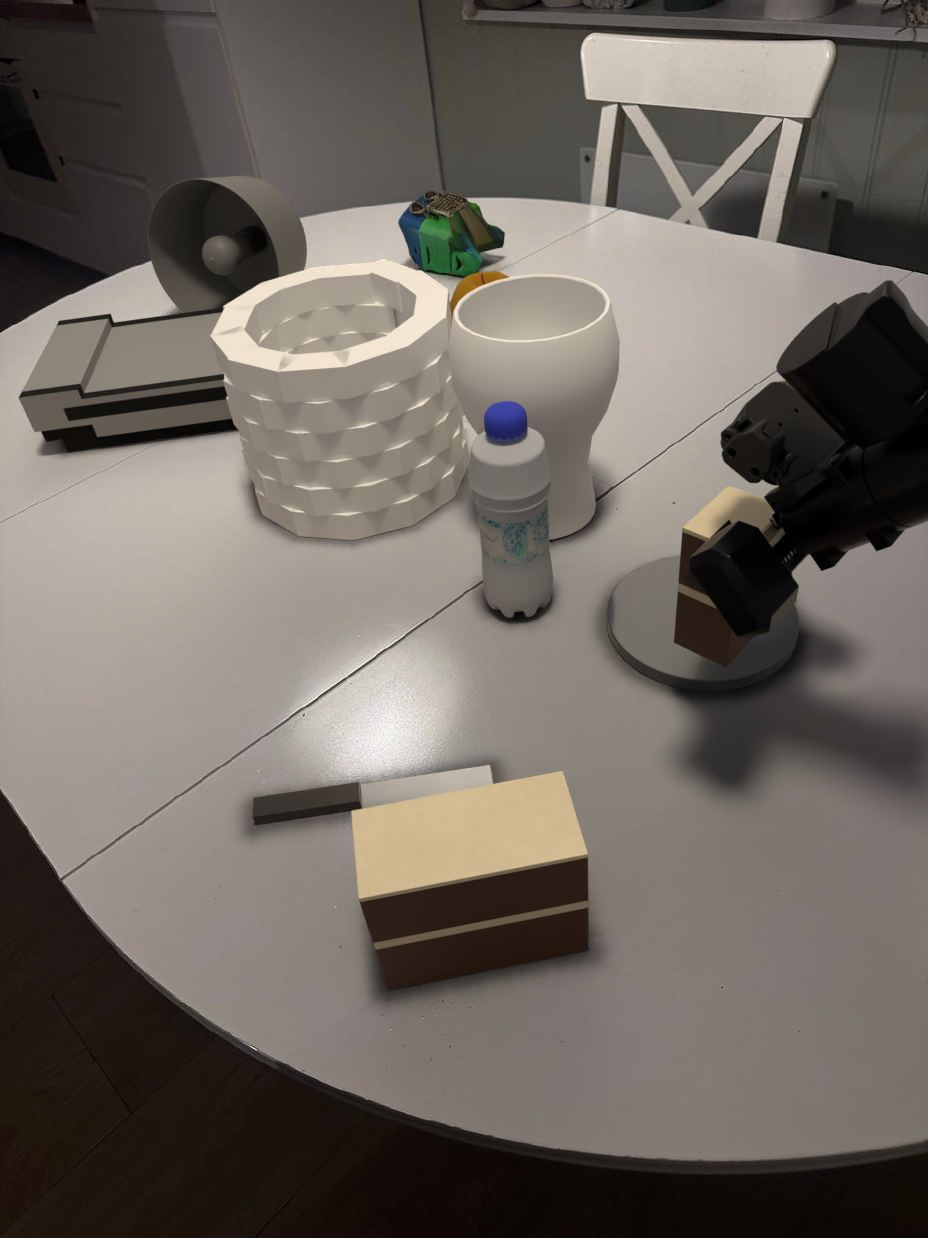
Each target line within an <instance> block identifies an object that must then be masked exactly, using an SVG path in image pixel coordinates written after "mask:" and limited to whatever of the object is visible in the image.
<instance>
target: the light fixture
mask: <svg viewBox="0 0 928 1238" xmlns="http://www.w3.org/2000/svg"><path fill="white" fill-rule="evenodd" d="M307 243H308V242H307V237H306V232H305V229H304V226H303V223H302V220H301V218H300V216H299V215H298V212H297V211H296V209H295V207H294V205H293V204H292V203H291V202H290V200H289V199H288V198H287V197H286V196H285V195H284V193H282V191H280V190H279V189H277V187H275V186H274V185H272V184H271V183H269V182H268V181H265V180H263V179H260V178H258V177H254V176H249V175H231V176H213V177H200V178H190V179H189V178H188V179H184V180H181V181H178V182H176V183H174V184H172V185H171V186H169V187H168V188H166V189H165V190H164V191H163V192H162V194H161V195H159V197H158V198H157V199H156V202H155V203H154V205H153V207H152V210H151V213H150V216H149V220H148V227H147V246H148V253H149V257H150V261H151V264H152V268H153V270H154V272H155V276H156V278H157V280H158V282H159V283H160V286H161V287H162V289H163V290H164V292H165V294H166V295H167V297H168V298H169V299H170V301H172V303H173V304H174V305H175V306H176V307H177V308H178V309H179V310H180V311H181V313H187V312H194V311H201V310H208V309H216V308H223V306H224V305H226V304H228V303H229V302H231V301H233V300H234V299H236V298H238V297H239V296H241V295H242V294H244V293H246V292H247V291H249V290H251V289H252V288H254V287H256V286H257V285H259V284H260V283H262V282H265V281H269V280H272V279H276V278H279V277H282V276H286V275H289V274H293V273H296V272H300V271H303V270H305V268H306V264H307V259H308V258H307V257H308V244H307Z"/></svg>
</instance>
